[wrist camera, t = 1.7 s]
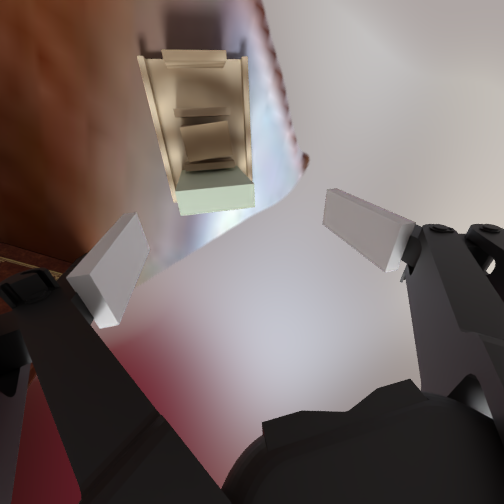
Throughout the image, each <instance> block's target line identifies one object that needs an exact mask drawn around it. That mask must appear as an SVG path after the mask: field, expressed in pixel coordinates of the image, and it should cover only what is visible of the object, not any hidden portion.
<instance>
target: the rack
mask: <svg viewBox="0 0 504 504" xmlns="http://www.w3.org/2000/svg"><path fill="white" fill-rule="evenodd" d="M161 51H162V56H163V59H145V58H144V56H137V58H138V62H139V66H140V70H141V74H142V78H143V82H144V86H145V90H146V94H147V98H148V102H149V106H150V110H151V114H152V118H153V122H154V126H155V130H156V134H157V138H158V142H159V146H160V150H161V154H162V158H163V162H164V166H165V170H166V174H167V178H168V182H169V186H170V190H171V194H172V198H173V202H174V203H175V202H177V198H176V194H175V190H176V187H177V184H178V181H179V178H180V174H181V171H182V170H186V172H187V171H199V170H211V169H223V168H235V166H238V167H239V168H240V169H241V170H242V171H243V173H244V174H245V175H246V176H247V177H248V178H249V179H250V180H251V181H252V160H251V134H250V108H249V81H248V57H242V58H241V59H227V58H226V50H161ZM220 121H227V122H228V128H229V134H230V140H231V147H232V153H233V155H228V156H222V157H216V158H211V159H205V160H199V161H193V162H189V160H188V157H187V155H186V150H185V145H184V142H183V138H182V134H181V131H180V127H181V125H190V124H206V123H213V122H220Z"/></svg>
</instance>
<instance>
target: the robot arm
mask: <svg viewBox="0 0 504 504" xmlns="http://www.w3.org/2000/svg"><path fill="white" fill-rule="evenodd" d="M322 224H323V225H324V226H325V227H327V228H328V229H329V230H330V231H332V232H333V233H334V234H336V235H337V236H338V237H340V238H341V239H342V240H343V241H345V242H346V243H347V244H349V245H350V246H351V247H353V248H354V249H355V250H356V251H358V252H359V253H360V254H362V255H363V256H364V257H366V258H367V259H368V260H369V261H371V262H372V263H373V264H375V265H376V266H377V267H378V268H380V269H381V270H382V271H384V272H389V271H395V270H397V269H398V267H399V264H400V262H401V260H402V261H404V262H405V263H407V265H406V268H405V270H404V272H403V275H402V277H401V280H400V282H403V280H405V279H406V284H407V291H408V297H409V304H410V310H411V317H412V323H413V331H414V337H415V344H416V351H417V357H418V364H419V371H420V378H421V391H420V390H419V388H418V387H417V386H416V385H415V384H414V383H413V381H412V380H411V379H408V380H404V381H401V382H397V383H394V384H390V385H387V386H384V387H380V388H377V389H376V390H375V391H373V392H372V393H371V394H370V395H368V396H367V397H366V398H365V399H363V400H362V401H361V402H359V403H358V404H357V405H356V406H354V407H353V408H352V409H350V410H349V411H346V412H329V411H299V412H296V413H293V414H289V415H286V416H282V417H279V418H275V419H272V420H269V421H265V422H262V429H263V430H262V431H263V435H262V436H260V437H259V438H257V439H256V440H255V441H254V442H253V443H252V444H250V445H249V446H248V447H247V448H246V449H245V451H244V452H243V453H242V454H241V456H240V457H239V458H238V459H237V461H236V462H235V464H234V465H233V467H232V469H231V470H230V472H229V474H228V476H227V478H226V480H225V482H224V484H223V486H222V488H221V489H220V488H219V486H218V485H217V484H216V483H215V481H214V480H213V479H212V478H211V476H210V475H209V474H208V472H207V471H206V470H205V469H204V467H203V466H202V465H201V464H200V462H199V461H198V460H197V458H196V457H195V456H194V455H193V454H192V452H191V451H190V450H189V448H188V447H187V446H186V445H185V444H184V442H183V441H182V439H181V438H180V437H179V436H178V434H177V433H176V432H175V431H174V429H173V428H172V427H171V426H170V424H169V423H168V422H167V421H166V419H165V418H164V417H163V416H162V415H160V414H159V412H158V411H157V410H156V409H155V407H154V406H153V405H152V404H151V402H150V401H149V400H148V399H147V397H146V396H145V395H144V393H143V392H142V391H141V390H140V388H139V387H138V386H137V384H136V383H135V382H134V380H133V379H132V378H131V377H130V375H129V374H128V373H127V372H126V370H125V369H124V368H123V366H122V365H121V364H120V363H119V361H118V360H117V359H116V357H115V356H114V355H113V354H112V352H111V351H110V350H109V348H108V347H107V346H106V345H105V343H104V342H103V341H102V340H101V338H100V337H99V336H98V334H97V333H96V332H95V331H94V329H93V328H92V327H91V323H92V321H93V319H94V321H95V322H96V324H97V325H98V327H99V328H100V329H101V328H105V327H111V326H115V325H119V324H120V322H121V319H122V317H123V314H124V312H125V310H126V307H127V305H128V302H129V299H130V297H131V295H132V292H133V290H134V288H135V285H136V283H137V280H138V278H139V275H140V273H141V271H142V268H143V266H144V263H145V261H146V258H147V256H148V254H149V251H150V248H149V245H148V242H147V240H146V237H145V234H144V231H143V229H142V226H141V223H140V220H139V218H138V215H137V212H134V213H126V214H123V215H122V216H121V217H120V218H119V219H118V221H117V222H116V223H115V224H114V225H113V226H112V227H111V228H110V229H109V231H108V232H107V233H106V234H105V235H104V236H103V237H102V238H101V239H100V241H99V242H98V243H97V244H96V245H95V246H94V247H93V248H92V249H91V251H90V252H89V253H86V254H84V255H83V256H81V257H79V258H78V259H76V260H75V261H74V263H73V264H72V265H71V267H69V268H68V269H67V270H66V272H64V273H63V274H62V275H61V276H60V277H59V278H58V279H57V280H55V279H54V277H53V276H52V274H51V273H50V271H49V270H48V269H46V268H33V269H28V270H25V271H22V272H19V273H17V274H15V275H12V276H10V277H8V278H6V279H5V280H3V281H1V282H0V297H1V298H2V299H3V300H4V301H5V302H6V303H7V304H8V305H9V306H10V307H11V309H12V310H13V311H10V312H7V313H4V314H1V315H0V504H11V498H12V491H13V484H14V477H15V470H16V463H17V456H18V449H19V442H20V435H21V428H22V421H23V414H24V406H25V400H26V393H27V386H28V379H29V372H30V365H31V363H33V366H34V368H35V371H36V374H37V376H38V379H39V381H40V384H41V387H42V389H43V392H44V395H45V397H46V400H47V403H48V405H49V408H50V411H51V413H52V416H53V418H54V421H55V424H56V426H57V429H58V431H59V434H60V437H61V439H62V442H63V445H64V447H65V450H66V453H67V455H68V458H69V461H70V463H71V466H72V468H73V471H74V473H75V476H76V479H77V481H78V484H79V487H80V491H81V501H80V502H79V504H504V229H502V228H500V227H498V226H495V225H491V224H473V225H471V226H470V228H469V230H468V232H467V233H466V234H458V233H457V231H455V230H454V229H453V228H450V227H447V226H444V225H440V224H426V225H423V226H422V227H421V226H418V225H416V222H414V221H411V220H409V219H407V218H404V217H402V216H400V215H397V214H395V213H393V212H390V211H388V210H386V209H383V208H381V207H379V206H376V205H374V204H372V203H369V202H367V201H364V200H362V199H360V198H358V197H355V196H353V195H351V194H348V193H346V192H344V191H342V190H339V189H327V194H326V201H325V208H324V216H323V223H322ZM493 259H494V260H495V263H496V264H495V268H494V270H493V272H492V273H491V274H488V273H487V272H486V270H487V268H488V267H489V265H490V264H491V262H492V261H493Z"/></svg>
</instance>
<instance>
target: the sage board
mask: <svg viewBox="0 0 504 504" xmlns="http://www.w3.org/2000/svg"><path fill="white" fill-rule="evenodd" d="M175 194H176V198H177V202H178V206H179V210H180V215H181V216H185V215H193V214H202V213H210V212H218V211H227V210H235V209H244V208H252V207H255V196H254V183H253V182H252V181H251V180H250V179H249V178H248V177H247V176H246V175H245V174H244V173H243V171H242V170H241V169H240V168H239V167H238V166H235V168H223V169H211V170H199V171H187V172H186V170H182V171H181V174H180V178H179V181H178V184H177V187H176V190H175Z"/></svg>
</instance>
